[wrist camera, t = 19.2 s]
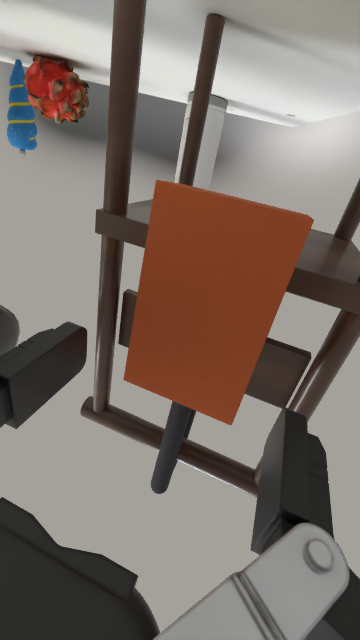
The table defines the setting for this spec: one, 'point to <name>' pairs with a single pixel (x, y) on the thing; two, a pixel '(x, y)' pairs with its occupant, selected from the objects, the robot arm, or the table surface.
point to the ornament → (20, 113)
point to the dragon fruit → (56, 90)
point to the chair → (132, 227)
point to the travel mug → (205, 141)
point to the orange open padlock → (207, 303)
